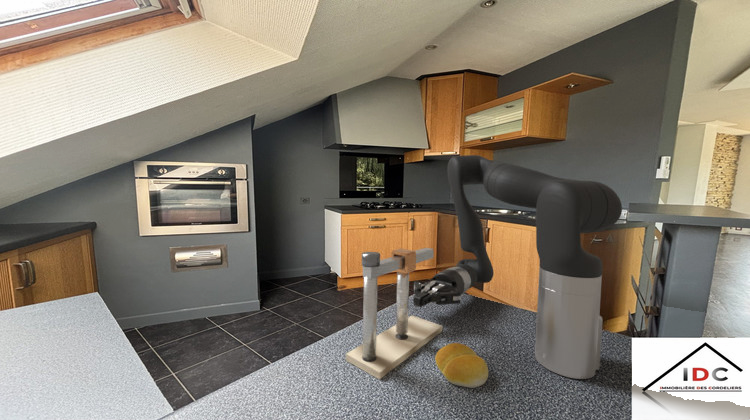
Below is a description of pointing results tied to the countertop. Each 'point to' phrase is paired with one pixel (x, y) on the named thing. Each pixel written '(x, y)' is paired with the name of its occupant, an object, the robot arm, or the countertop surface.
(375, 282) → the metal gantry frame
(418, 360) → the countertop surface
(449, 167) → the robot arm
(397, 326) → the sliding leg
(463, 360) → the bread roll
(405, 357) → the plate
